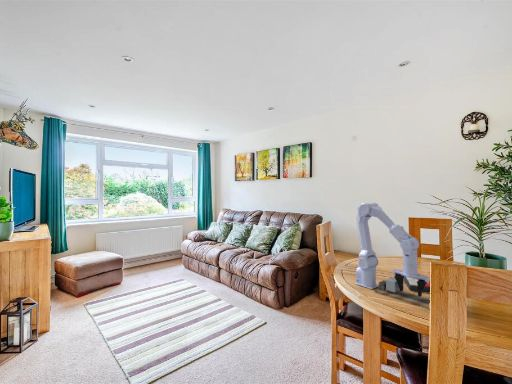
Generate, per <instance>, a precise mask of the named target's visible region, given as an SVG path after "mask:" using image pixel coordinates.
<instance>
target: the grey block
mask: <svg viewBox="0 0 512 384" xmlns="http://www.w3.org/2000/svg"><path fill="white" fill-rule="evenodd" d="M385 281H386V290H388V291H391V292H394V293H395V292H397V291H399V290H400V289H399V286H398V283H397V281H396V279H395V278H394V277H389V278H386V280H385Z"/></svg>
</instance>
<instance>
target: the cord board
mask: <svg viewBox="0 0 512 384" xmlns="http://www.w3.org/2000/svg"><path fill="white" fill-rule="evenodd" d="M378 285H379V286H378V287H377V288H376V289H374V293H377V294H380V295H382V296H384V297H385V296H386V297H388V298H391V299H395V300H398V301H402V302H404V303H408V304H410V303H411V305H414V306H417V305H418V306H417V307H420V306H422V307H421V308H423V307H425V308H424V309H426V308H428V309H427V310H429V303H430V300H429V299H430V298H428V297H426V296H423V295H422V296H421V297H419V296H418V294H415V293H412V292H408V291H405V290H403V291H400V290H399V291H397V292H395V293H394V292H391V291H388V290H386V280H381V281H378Z"/></svg>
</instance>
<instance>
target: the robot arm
mask: <svg viewBox="0 0 512 384" xmlns="http://www.w3.org/2000/svg"><path fill="white" fill-rule="evenodd" d="M372 217H373V218H374V217H375V218H377V219H378V220H379V221H380V222H382V223H383V224H384V225H385V226H386V227H387V228H388V229H389V233H390V235H391V236H392V237H393V238H394V239H395V240H396V241H397V242H398V243H399V246H400V248H401V249H402V270H400V269H396V268H395V269H393V270H392V274H393V275H394V277H393V278H395V279H396V281H397V283H398V286H399V289H400V291H404V276H405V277H410V278H414V279H418V280H419V281H417V285H418V292H417V295H418V296H419V297H421V296H422V297H423V293H424V292H423V289H424V287H425V285H426V283H427V282H429V281H430V277H429V276H427V275H423V274H420V273H418V248H419V247H420V241H419V240H418V238H416V237H414V236H412V235H411V234H409V233H408V232H407V230H406V229H405V228H404V225H400V224H396V223H395V222H394V221H393V220H392V219H391V218H390V217H389V216H388V215H387V214H386V212H385V211H384V210H383V208H382V207H381V206H380V205H379V204H378V203H376V202H362V203H361V204H360V205H359V206H358V207H357V214H356V225H357V231H358V239H359V243H360V252H359V254H358V260H357V264H358V267H357V268H356V270H355V283H354V284H355V285H357V286H361V287H365V288H367V289H371V290H373V289H375V288H376V289H377V288H379V283H377V266H378V265H379V259H378V257H377V254H376V252H375V251H374V250H373V247H372V240H371V234H370V226H369V220H370V219H371V218H372Z"/></svg>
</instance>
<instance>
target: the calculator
mask: <svg viewBox="0 0 512 384" xmlns="http://www.w3.org/2000/svg"><path fill="white" fill-rule="evenodd" d="M417 281H419V280H418V279H414V278H410V277H405V276H404V281H403V283H404V284H405V285H406V287H407V288H408V290H409V291H411V292H416V293H418V285H417ZM430 282H431V281H430V280H429V282H427V283H426V285H425V287H424V289H423V292H422V293H424V292H427V293H426V294H430V293H429V292H430Z"/></svg>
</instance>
